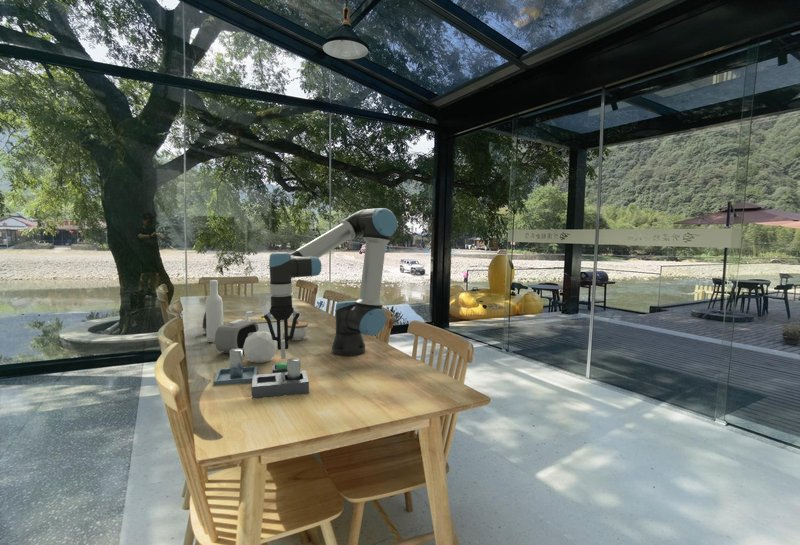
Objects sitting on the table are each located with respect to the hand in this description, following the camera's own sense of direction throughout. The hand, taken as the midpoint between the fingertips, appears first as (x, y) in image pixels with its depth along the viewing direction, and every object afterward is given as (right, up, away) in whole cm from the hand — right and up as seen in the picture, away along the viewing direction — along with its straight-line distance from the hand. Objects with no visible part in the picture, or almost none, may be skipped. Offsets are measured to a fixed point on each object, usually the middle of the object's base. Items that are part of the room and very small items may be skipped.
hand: (283, 357), depth 156 cm
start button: (0, -5, 0) cm, 5 cm away
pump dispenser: (-56, -1, +67) cm, 87 cm away
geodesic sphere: (-14, -6, +18) cm, 24 cm away
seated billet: (+7, -8, -11) cm, 15 cm away
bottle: (-48, -2, +51) cm, 70 cm away
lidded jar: (-9, -2, +57) cm, 58 cm away
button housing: (0, -7, 0) cm, 7 cm away
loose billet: (-16, -7, -3) cm, 18 cm away
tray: (-16, -7, -2) cm, 18 cm away
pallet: (+2, -8, -12) cm, 15 cm away
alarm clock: (-30, -4, +36) cm, 47 cm away
